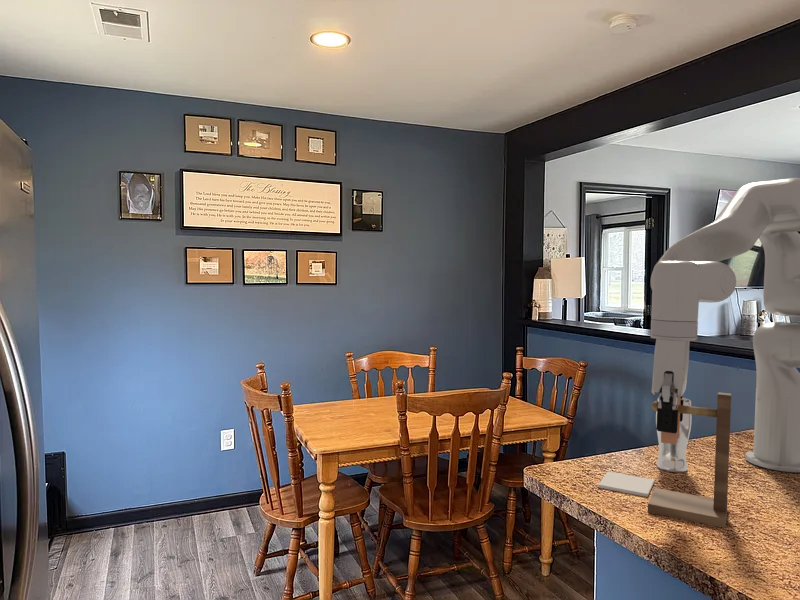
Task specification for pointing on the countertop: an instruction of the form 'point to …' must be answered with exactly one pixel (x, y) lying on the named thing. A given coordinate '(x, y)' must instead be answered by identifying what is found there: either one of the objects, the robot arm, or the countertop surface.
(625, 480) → the trivet
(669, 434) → the link
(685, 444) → the beer glass
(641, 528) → the countertop surface
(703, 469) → the countertop surface
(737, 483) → the countertop surface
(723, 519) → the stand
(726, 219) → the robot arm
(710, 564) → the countertop surface
